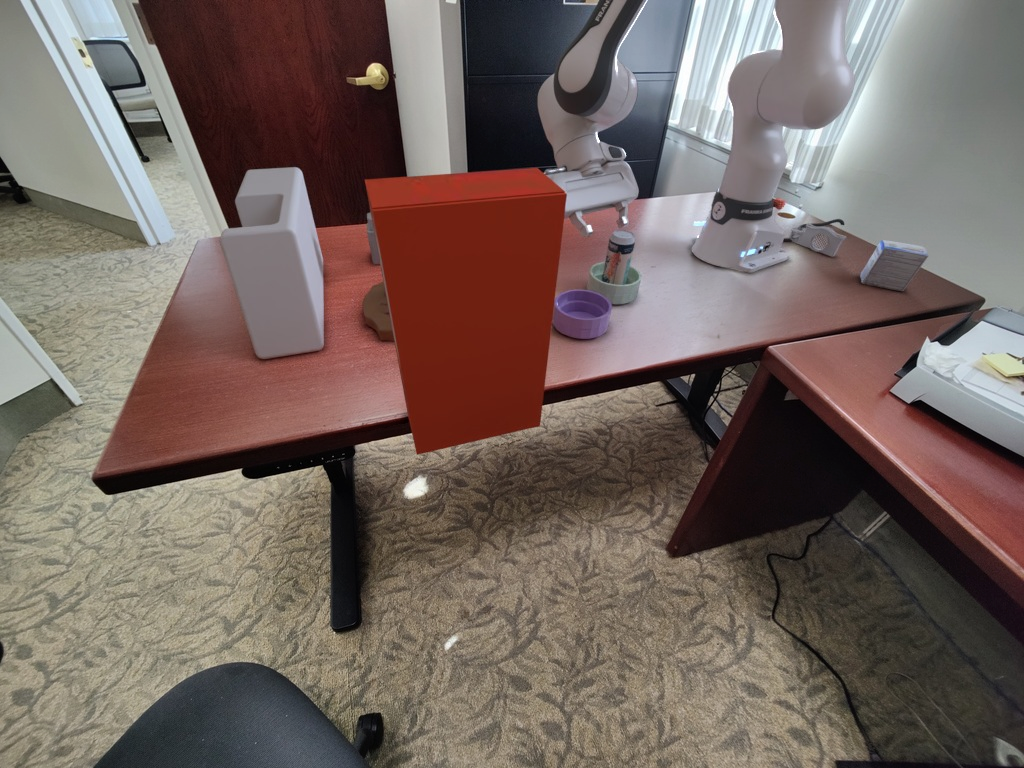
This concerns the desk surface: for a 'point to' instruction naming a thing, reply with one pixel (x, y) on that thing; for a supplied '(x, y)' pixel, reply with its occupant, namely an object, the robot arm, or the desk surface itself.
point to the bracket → (277, 263)
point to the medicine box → (893, 265)
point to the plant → (378, 312)
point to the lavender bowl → (581, 313)
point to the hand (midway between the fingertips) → (606, 231)
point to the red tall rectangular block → (469, 297)
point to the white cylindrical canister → (618, 257)
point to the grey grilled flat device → (811, 233)
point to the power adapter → (372, 240)
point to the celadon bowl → (612, 291)
